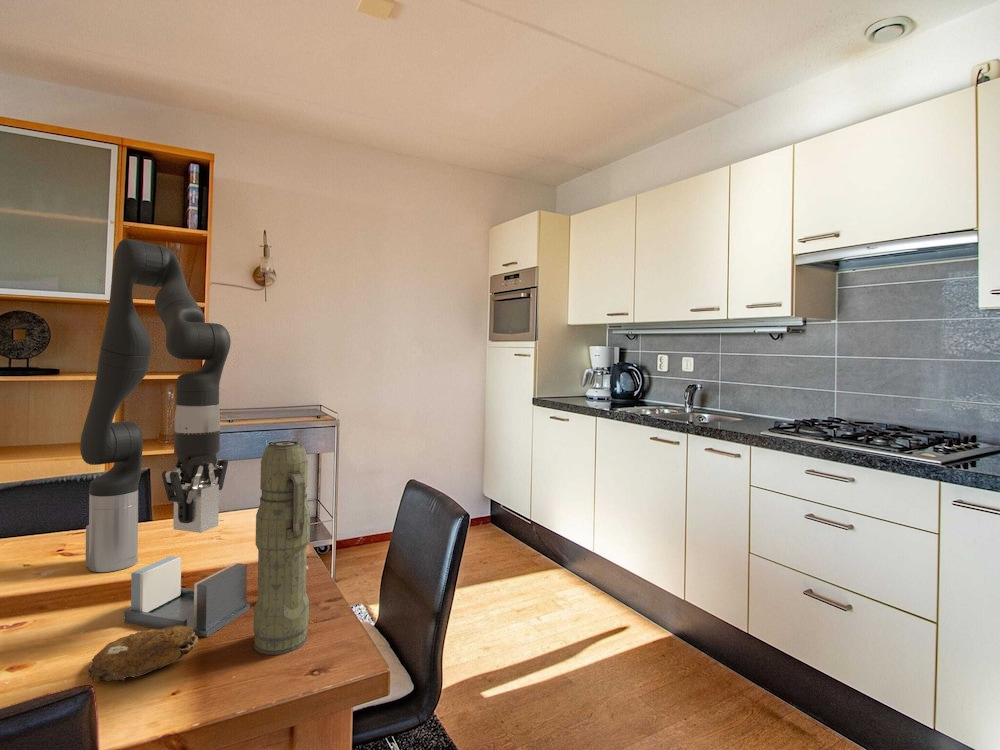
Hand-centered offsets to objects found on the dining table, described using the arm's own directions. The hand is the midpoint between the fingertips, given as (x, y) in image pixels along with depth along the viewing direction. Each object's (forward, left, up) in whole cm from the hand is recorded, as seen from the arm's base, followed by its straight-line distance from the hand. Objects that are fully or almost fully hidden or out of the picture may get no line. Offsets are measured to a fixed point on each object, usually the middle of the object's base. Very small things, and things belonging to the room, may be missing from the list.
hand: (196, 518), depth 102 cm
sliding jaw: (-9, 0, -18) cm, 20 cm away
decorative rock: (+4, -14, -19) cm, 24 cm away
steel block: (0, 0, -2) cm, 2 cm away
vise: (-1, 0, -19) cm, 19 cm away
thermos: (+21, -3, -19) cm, 28 cm away
